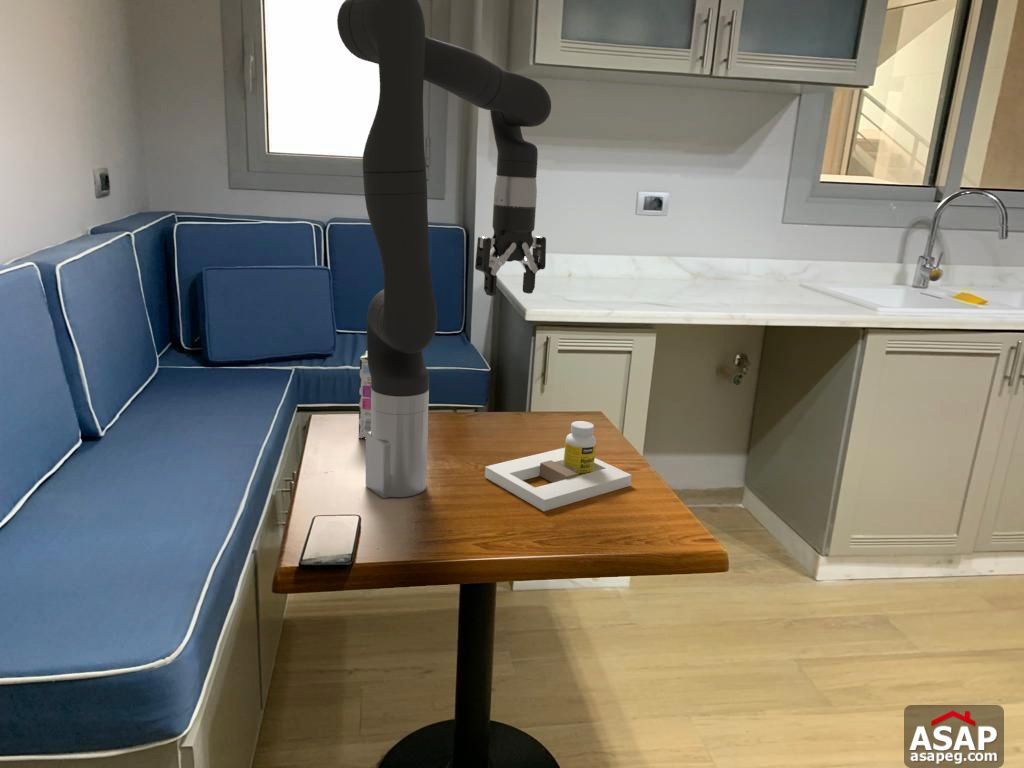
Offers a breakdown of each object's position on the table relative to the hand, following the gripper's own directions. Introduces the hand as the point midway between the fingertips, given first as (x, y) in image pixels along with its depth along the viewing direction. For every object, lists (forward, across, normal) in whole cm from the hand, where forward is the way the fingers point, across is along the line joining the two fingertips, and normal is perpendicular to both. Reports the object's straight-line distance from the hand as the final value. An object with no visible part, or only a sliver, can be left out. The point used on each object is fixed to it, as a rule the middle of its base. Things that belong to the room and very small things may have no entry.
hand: (509, 294), depth 142 cm
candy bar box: (+30, -16, +20) cm, 40 cm away
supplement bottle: (+30, +4, -18) cm, 35 cm away
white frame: (+30, -1, -18) cm, 35 cm away
